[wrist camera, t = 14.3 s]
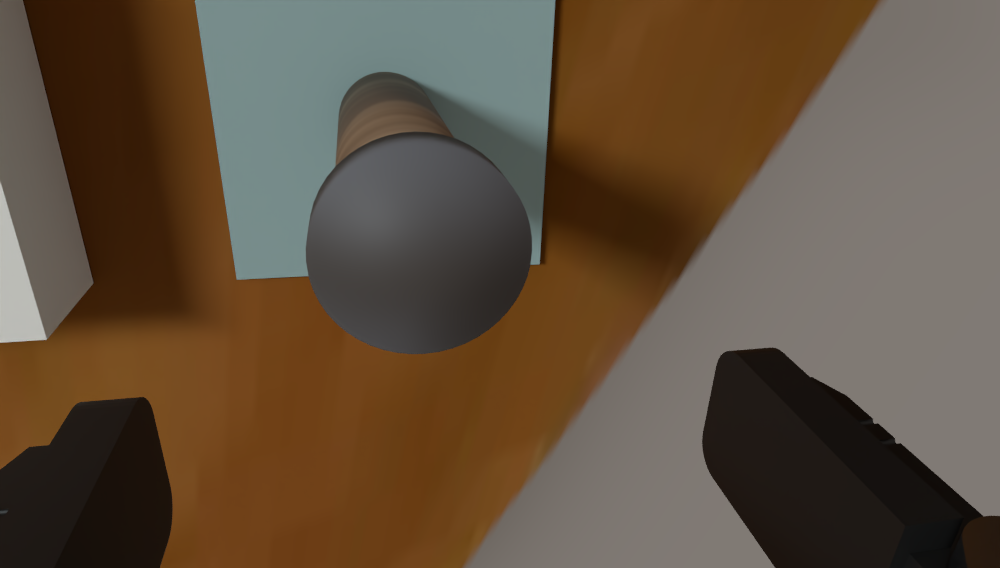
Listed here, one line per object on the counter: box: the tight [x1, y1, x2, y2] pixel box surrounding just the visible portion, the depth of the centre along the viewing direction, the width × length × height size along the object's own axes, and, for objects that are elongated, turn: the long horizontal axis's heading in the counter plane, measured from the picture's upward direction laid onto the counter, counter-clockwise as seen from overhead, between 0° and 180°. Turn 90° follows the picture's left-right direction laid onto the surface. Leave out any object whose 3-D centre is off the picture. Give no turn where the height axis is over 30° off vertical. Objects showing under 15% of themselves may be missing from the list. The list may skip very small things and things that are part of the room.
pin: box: [306, 72, 532, 354], centre depth 22 cm, size 5×5×15 cm
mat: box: [195, 0, 555, 280], centre depth 29 cm, size 14×14×1 cm
